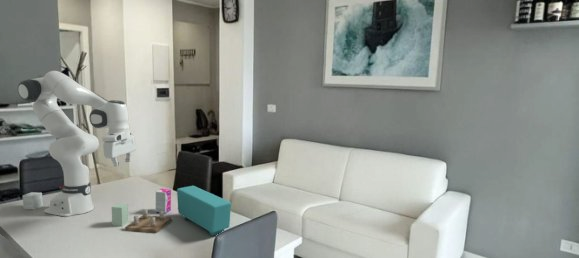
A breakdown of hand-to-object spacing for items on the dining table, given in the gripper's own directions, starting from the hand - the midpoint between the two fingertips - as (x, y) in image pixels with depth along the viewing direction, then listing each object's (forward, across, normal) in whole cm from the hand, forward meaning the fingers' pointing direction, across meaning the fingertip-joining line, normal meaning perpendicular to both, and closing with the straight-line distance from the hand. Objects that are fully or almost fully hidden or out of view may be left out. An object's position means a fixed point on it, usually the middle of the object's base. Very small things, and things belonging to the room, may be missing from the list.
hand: (122, 164), depth 166 cm
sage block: (+28, +3, -2) cm, 29 cm away
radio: (+31, -3, +37) cm, 48 cm away
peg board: (+29, +2, +12) cm, 32 cm away
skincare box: (+25, -9, -58) cm, 63 cm away
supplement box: (+29, -16, +10) cm, 35 cm away
